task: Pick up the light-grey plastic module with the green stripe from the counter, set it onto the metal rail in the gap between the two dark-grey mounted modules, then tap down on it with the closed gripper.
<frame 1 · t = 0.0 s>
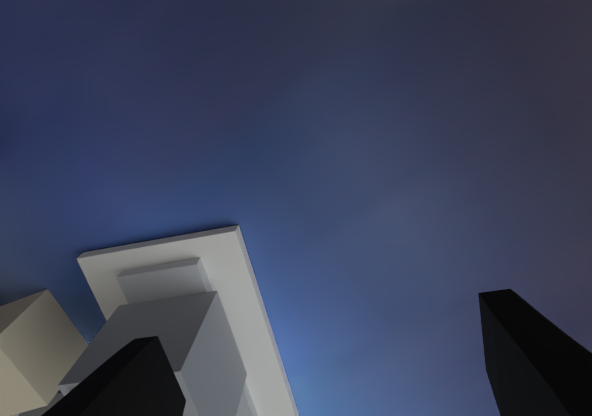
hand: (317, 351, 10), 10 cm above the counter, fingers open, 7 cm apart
din rail: (226, 410, 25), on the counter
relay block: (41, 327, 24), on the counter
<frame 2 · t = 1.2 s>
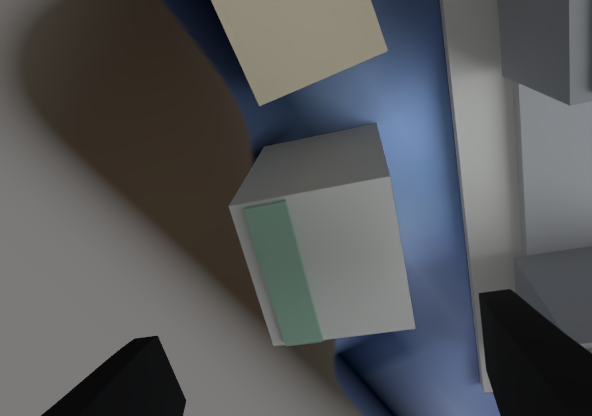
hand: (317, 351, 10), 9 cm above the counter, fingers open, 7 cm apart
module: (332, 193, 19), on the counter
din rail: (568, 150, 17), on the counter
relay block: (305, 9, 16), on the counter
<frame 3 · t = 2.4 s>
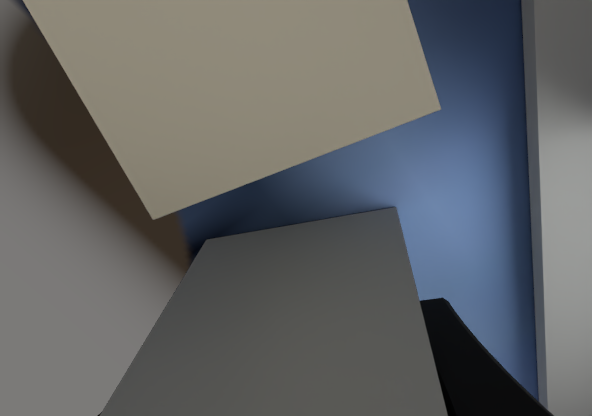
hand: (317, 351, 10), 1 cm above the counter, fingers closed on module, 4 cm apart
module: (320, 312, 11), on the counter, touching gripper
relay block: (269, 10, 9), on the counter
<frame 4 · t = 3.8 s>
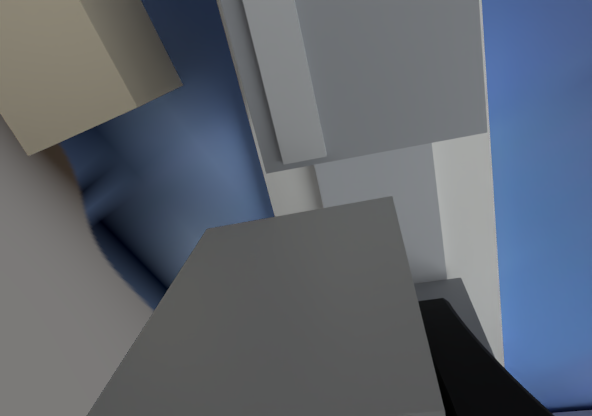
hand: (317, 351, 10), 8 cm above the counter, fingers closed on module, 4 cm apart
module: (318, 300, 12), point 7 cm above the counter, touching gripper
din rail: (377, 192, 17), on the counter
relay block: (109, 53, 16), on the counter
when the fingers open (4 cm above the counter, at t = 5.3 s): module stays where it is, resting on din rail.
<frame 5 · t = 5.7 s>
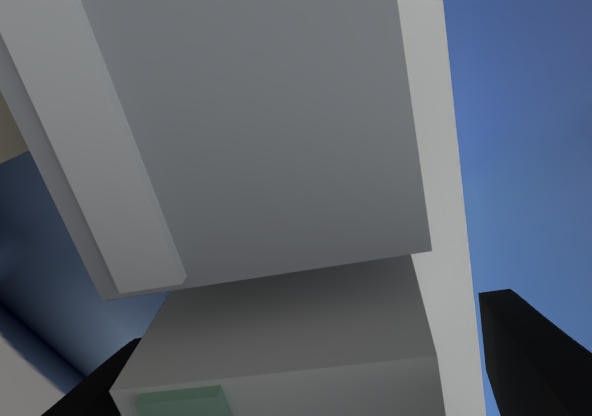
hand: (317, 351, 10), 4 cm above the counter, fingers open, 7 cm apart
module: (323, 281, 12), point 1 cm above the counter, touching din rail
din rail: (324, 263, 13), on the counter
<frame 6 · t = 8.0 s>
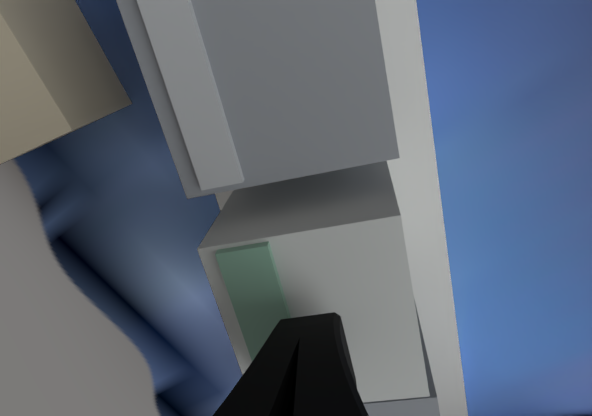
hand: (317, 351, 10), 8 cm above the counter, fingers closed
module: (328, 217, 16), point 1 cm above the counter, touching din rail
din rail: (329, 207, 17), on the counter
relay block: (59, 72, 16), on the counter
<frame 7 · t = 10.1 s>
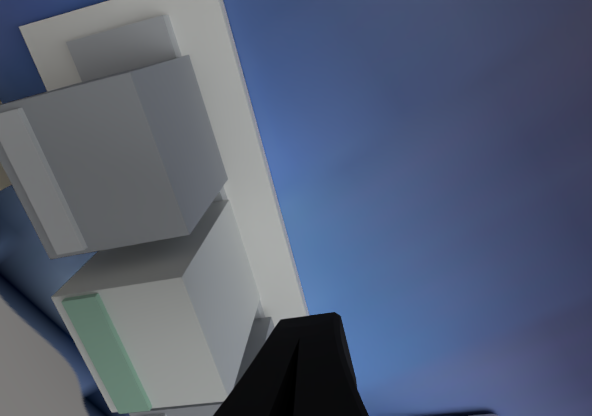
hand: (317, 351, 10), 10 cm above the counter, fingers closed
module: (198, 258, 20), point 1 cm above the counter, touching din rail
din rail: (206, 248, 21), on the counter
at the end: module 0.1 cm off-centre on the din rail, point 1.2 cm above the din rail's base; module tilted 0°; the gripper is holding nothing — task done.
